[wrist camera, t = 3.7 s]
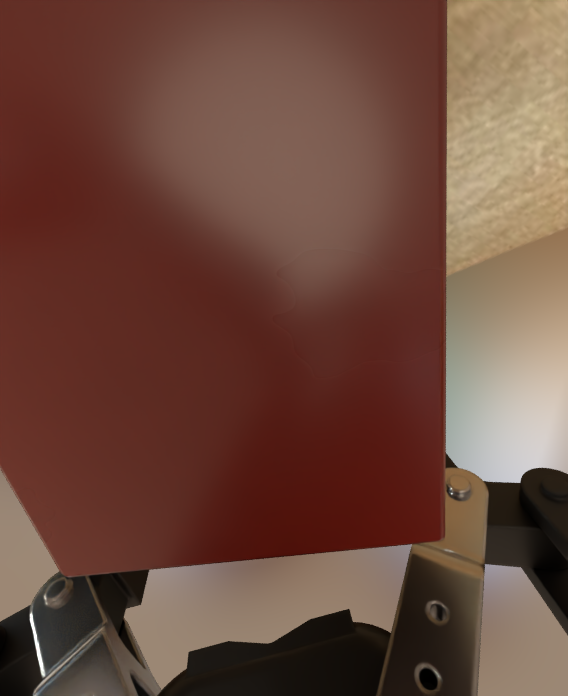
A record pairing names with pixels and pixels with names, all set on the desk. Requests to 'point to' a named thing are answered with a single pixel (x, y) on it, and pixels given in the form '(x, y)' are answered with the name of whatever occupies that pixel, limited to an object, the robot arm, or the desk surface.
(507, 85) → the desk surface
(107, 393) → the brush
